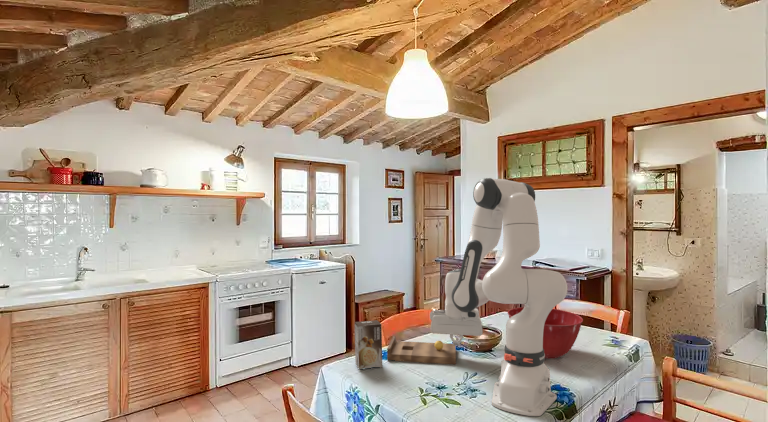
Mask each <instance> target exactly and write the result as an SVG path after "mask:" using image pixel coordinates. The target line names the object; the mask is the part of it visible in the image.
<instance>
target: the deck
mask: <svg viewBox="0 0 768 422" xmlns="http://www.w3.org/2000/svg"><path fill="white" fill-rule="evenodd" d="M442 343H443V342H442ZM456 347H457V346H453V343H443V348H442V349H441V350H437V349H436V348H435V342H427V341H426V342H423V341H407V340H406V341H402V340H397V338H396V336H395V335H393V336H392V338H391V340H390V342H389V344H388V347H387V349H386V351H387V353H386V357H387V359H386V360H395V361H394V362H408V363H423V364H424V363H427V364H439V365H440V364H443V365H444V364H445V365H456V363H457V361H456V359H457V354H456V353H457V352H456V351H457V350H456Z"/></svg>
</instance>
